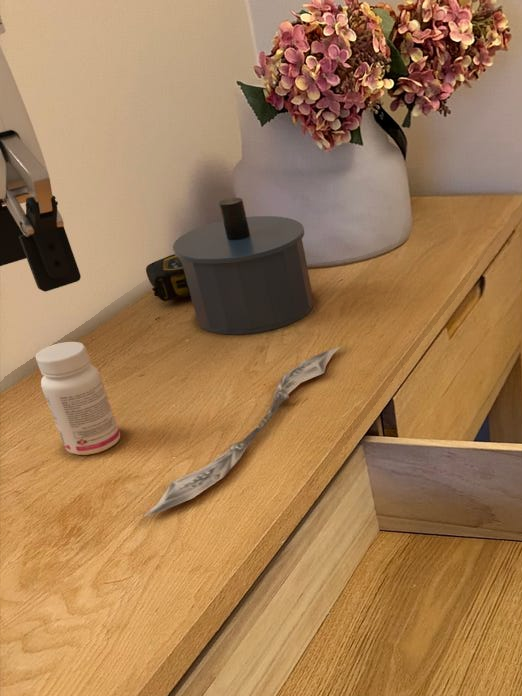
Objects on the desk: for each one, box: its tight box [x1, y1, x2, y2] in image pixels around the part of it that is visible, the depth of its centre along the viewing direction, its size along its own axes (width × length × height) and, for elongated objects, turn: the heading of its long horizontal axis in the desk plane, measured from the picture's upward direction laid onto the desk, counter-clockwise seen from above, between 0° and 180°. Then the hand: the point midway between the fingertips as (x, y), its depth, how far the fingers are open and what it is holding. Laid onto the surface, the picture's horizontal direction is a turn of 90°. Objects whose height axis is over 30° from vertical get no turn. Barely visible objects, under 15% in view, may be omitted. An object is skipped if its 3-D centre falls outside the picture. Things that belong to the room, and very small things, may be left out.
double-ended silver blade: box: [143, 345, 342, 517], centre depth 86 cm, size 32×1×5 cm
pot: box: [181, 238, 314, 336], centre depth 105 cm, size 13×13×8 cm
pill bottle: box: [35, 341, 121, 456], centre depth 83 cm, size 5×5×8 cm
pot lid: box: [172, 197, 305, 264], centre depth 102 cm, size 14×14×5 cm
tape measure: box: [145, 253, 191, 302], centre depth 113 cm, size 7×7×4 cm
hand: (35, 273), depth 76 cm, fingers open, 9 cm apart
